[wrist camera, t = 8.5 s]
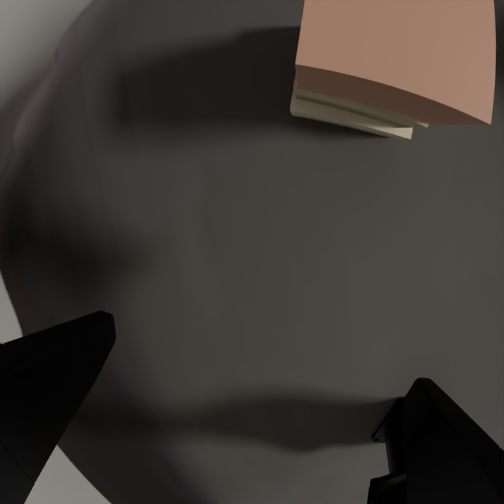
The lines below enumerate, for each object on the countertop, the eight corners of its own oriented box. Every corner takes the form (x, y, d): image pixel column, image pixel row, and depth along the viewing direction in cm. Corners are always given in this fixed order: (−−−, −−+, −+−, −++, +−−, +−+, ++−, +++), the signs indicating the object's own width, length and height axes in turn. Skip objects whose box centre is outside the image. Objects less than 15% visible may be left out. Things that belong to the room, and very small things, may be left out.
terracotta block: (432, 124, 9) (490, 124, 5) (298, 89, 10) (295, 63, 6) (442, 10, 7) (490, -27, 3) (315, -26, 8) (317, -85, 4)
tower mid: (397, 128, 13) (427, 127, 9) (296, 98, 13) (293, 85, 10) (413, 39, 11) (444, 14, 7) (315, 9, 11) (318, -28, 8)
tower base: (389, 138, 17) (410, 139, 13) (292, 115, 17) (289, 110, 13) (402, 49, 14) (423, 32, 11) (306, 26, 15) (306, 1, 11)
